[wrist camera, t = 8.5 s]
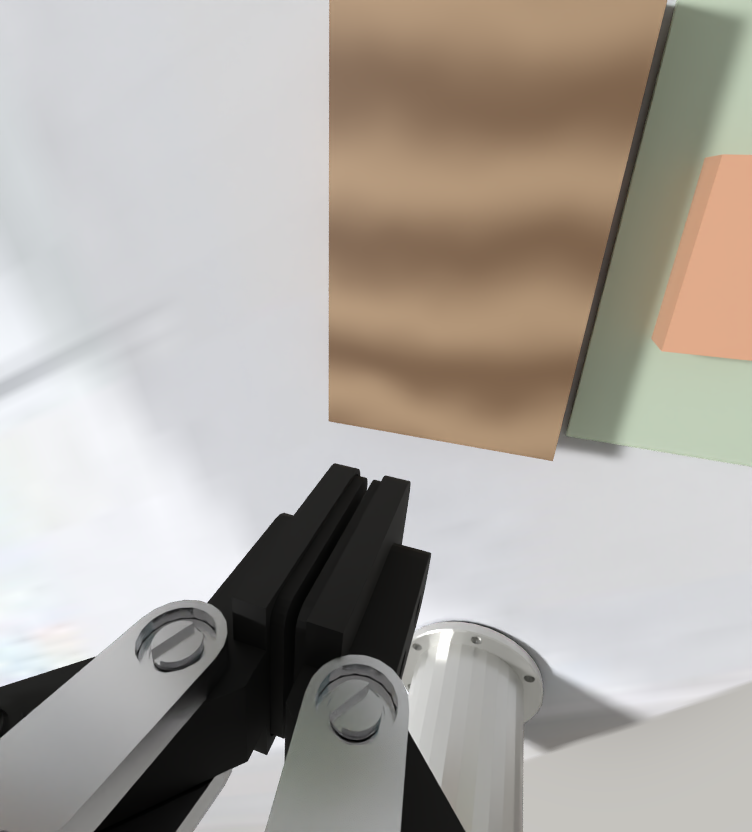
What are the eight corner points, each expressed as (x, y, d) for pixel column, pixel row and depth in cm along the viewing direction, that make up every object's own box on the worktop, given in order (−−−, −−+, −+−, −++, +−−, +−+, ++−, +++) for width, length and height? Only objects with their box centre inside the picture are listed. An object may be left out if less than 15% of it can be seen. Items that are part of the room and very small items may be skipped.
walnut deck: (549, 430, 31) (552, 460, 28) (348, 397, 34) (328, 421, 31) (651, 1, 21) (676, -36, 18) (357, 12, 25) (329, -18, 21)
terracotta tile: (661, 351, 25) (651, 338, 27) (796, 365, 23) (774, 351, 25) (722, 154, 21) (704, 157, 23) (889, 156, 19) (854, 160, 21)
